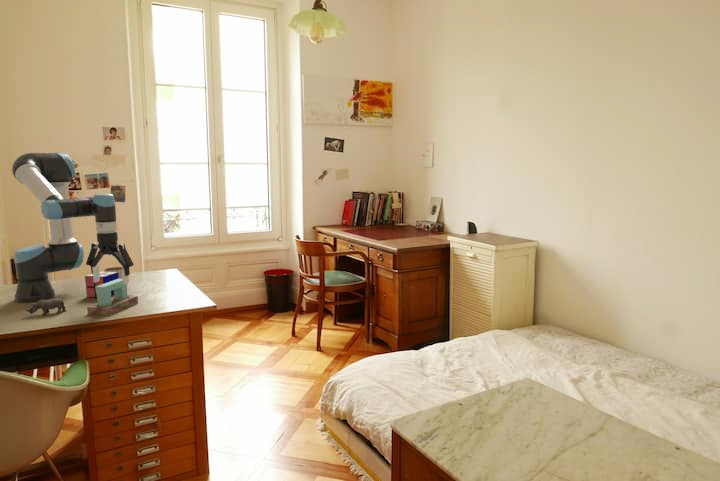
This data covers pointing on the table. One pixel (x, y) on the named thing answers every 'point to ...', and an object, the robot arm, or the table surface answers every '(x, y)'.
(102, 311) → the brown flat block
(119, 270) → the flower pot
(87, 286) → the puzzle cube
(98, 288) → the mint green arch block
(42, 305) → the rhino figurine
